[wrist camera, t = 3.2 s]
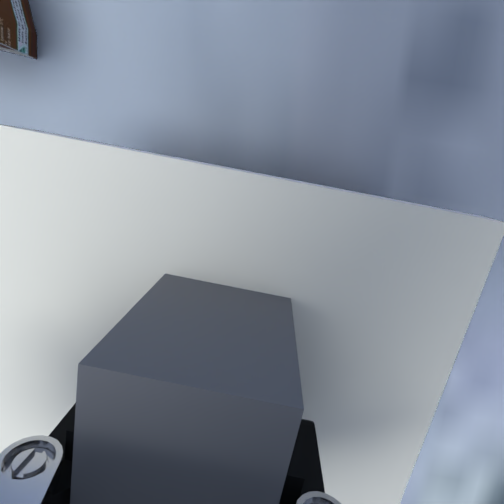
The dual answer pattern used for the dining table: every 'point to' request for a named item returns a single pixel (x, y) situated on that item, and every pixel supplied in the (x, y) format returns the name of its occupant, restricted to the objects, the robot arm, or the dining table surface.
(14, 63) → the dining table surface
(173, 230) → the lid
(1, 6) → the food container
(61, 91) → the dining table surface
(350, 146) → the dining table surface
